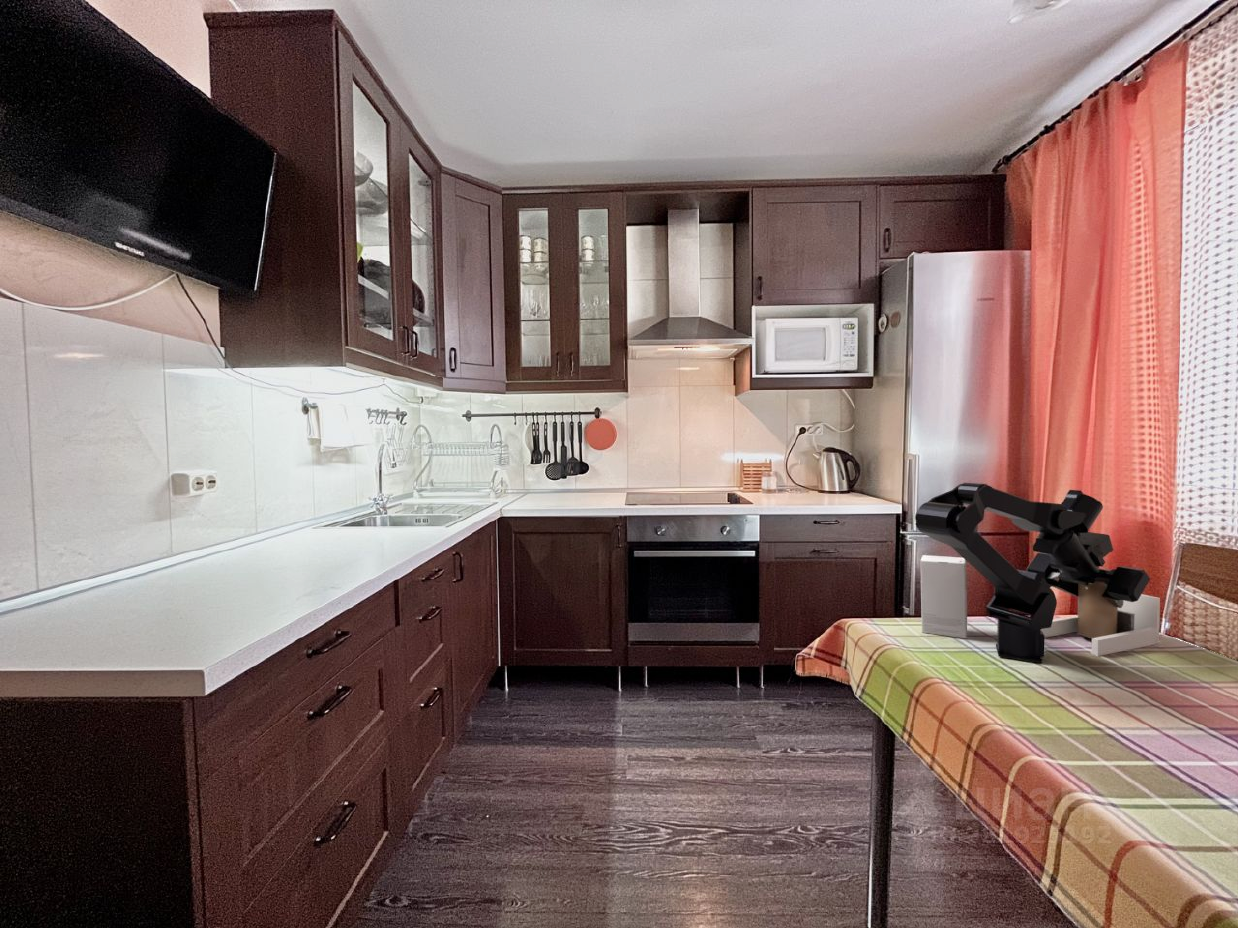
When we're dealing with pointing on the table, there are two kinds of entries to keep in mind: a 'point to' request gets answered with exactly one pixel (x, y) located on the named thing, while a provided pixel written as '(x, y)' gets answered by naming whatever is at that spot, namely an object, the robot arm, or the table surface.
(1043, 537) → the robot arm
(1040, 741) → the table surface
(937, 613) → the skincare box
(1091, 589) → the jar
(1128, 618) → the pusher paddle
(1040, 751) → the table surface
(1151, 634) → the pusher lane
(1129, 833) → the table surface
